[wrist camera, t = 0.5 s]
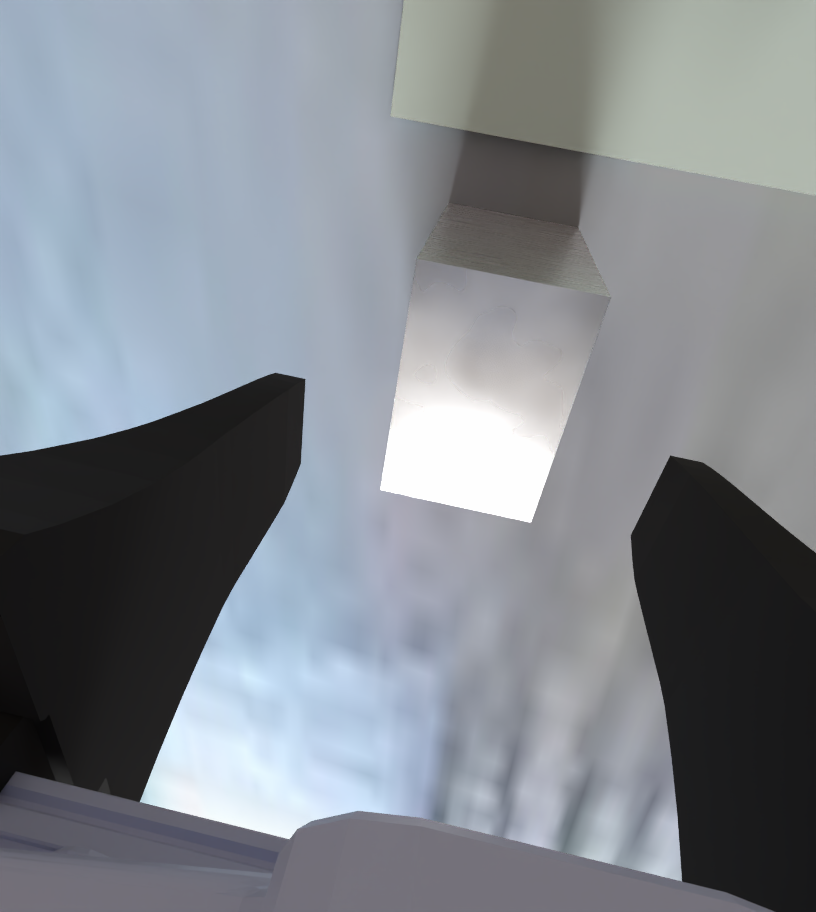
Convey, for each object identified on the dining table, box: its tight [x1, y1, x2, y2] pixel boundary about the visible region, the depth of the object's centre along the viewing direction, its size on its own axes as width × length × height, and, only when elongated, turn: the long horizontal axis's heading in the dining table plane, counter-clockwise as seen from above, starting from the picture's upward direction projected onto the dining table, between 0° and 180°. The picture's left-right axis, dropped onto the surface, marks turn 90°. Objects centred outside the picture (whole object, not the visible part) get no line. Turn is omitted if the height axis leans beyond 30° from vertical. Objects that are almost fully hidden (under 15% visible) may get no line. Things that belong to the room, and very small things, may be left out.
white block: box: [381, 203, 611, 522], centre depth 16 cm, size 4×6×7 cm, turn 171°
